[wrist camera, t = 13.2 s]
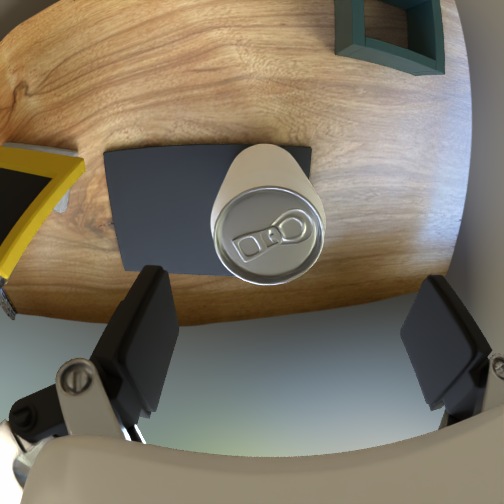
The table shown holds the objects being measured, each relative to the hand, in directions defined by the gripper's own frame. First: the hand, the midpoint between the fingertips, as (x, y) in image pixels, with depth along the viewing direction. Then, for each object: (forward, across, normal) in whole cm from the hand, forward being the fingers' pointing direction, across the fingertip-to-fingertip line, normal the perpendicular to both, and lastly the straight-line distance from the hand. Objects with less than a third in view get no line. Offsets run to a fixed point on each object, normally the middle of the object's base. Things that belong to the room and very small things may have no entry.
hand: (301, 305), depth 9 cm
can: (+17, +1, 0) cm, 17 cm away
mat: (+17, +7, +4) cm, 19 cm away
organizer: (+18, -9, -16) cm, 26 cm away
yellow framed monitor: (+17, +28, -2) cm, 33 cm away
